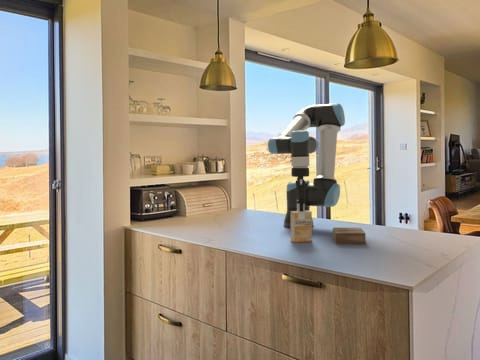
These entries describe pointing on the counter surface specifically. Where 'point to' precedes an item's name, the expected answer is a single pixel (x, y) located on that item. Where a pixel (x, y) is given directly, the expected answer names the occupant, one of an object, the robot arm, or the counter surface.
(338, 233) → the block
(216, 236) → the counter surface
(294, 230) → the supplement box
